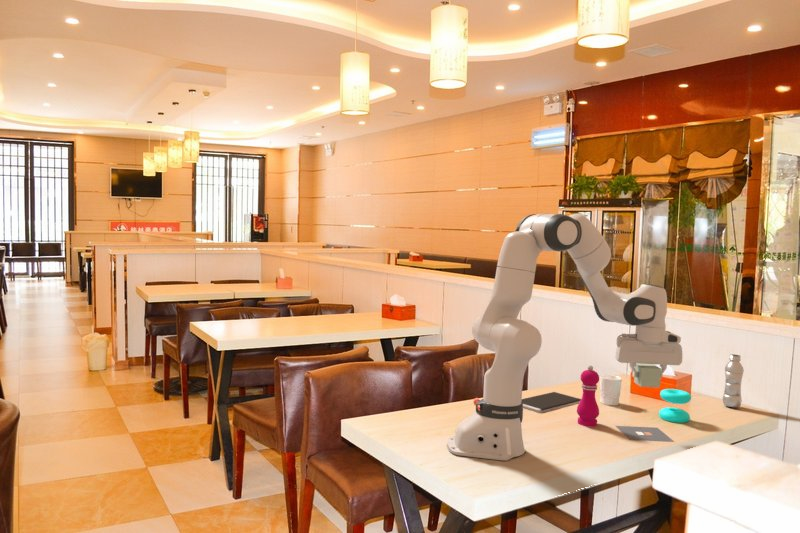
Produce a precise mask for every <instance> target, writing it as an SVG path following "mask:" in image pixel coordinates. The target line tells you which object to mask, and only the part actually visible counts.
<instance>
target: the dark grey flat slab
mask: <svg viewBox="0 0 800 533" xmlns="http://www.w3.org/2000/svg"><path fill="white" fill-rule="evenodd" d="M581 399H582V398H579V397H575V396H572V395H569V394H565V393H560V392H557V391H552V392H548V393H543V394H539V395H534V396H530V397H526V398H522V403H523V410H528V411H532V412H535V413H538V414H539V413H540V414H542V413H546V412H550V411H554V410H556V409H560V408H564V406H565V407H569V406H572V405H575V403H576V404H579V403H578V402H580V401H581ZM571 404H572V405H571ZM568 405H569V406H568Z"/></svg>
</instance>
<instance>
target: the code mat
mask: <svg viewBox="0 0 800 533" xmlns="http://www.w3.org/2000/svg"><path fill="white" fill-rule="evenodd" d="M615 427H616V429H618V430H619V431H620V432H621V433H622V434H623V435H624V436H625V437H626V438H627V439H628V440H629V441H643V442H644V441H646V442H647V441H648V442H664V443H665V442H666V443H669V442H670V443H675V441H674V440H673V439H672V438H671V437H669V436H668V435H667V434H666V433H665V432H663V431H662V430H661V429H660V428H659V427H648V426H625V425H615Z"/></svg>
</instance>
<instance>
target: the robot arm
mask: <svg viewBox="0 0 800 533" xmlns="http://www.w3.org/2000/svg"><path fill="white" fill-rule="evenodd" d="M542 251H543V252H565V251H566V252H567V253H568V254H569V256H570V258H571V259H572V260H573V262H574V264H575V265H576V270H577V273H578V275H579V277H580V279H581V281H582V283H583V285H584V286H585V289H586V290H587V292H588V293H589V296H590V298H591V299H592V304H593V307H594V312H595V314H596V315H597V317H598V318H599V319H600V320H601V321H604V322H611V323H616V324H621V325H627V326H633V327H634V326H635V331H634V332H635V333H621V334H619V335H618V336H617V338H616V346H617V347H616V351H615V359H616V360H617V361H618V363H622V364H629V367H630V369H631V371H632V377H633V378H634V377H639V372H638V371H636V370H635V367H636V364H650V365H659V368H661V377H660V379H662V378H663V374H664V373H665V371H666V370H667V369H668V368H667V367H668V366H680V365H681V364H683V346H682V345H681V340H682V338H681V336H680V335H678V334H675V333H673V332H671V331H668V330H666V327H667V326H666V316H667V312H668V297H667V296H668V294H667V291H666V289H665V288H664V287H663V286H660V285H656V284H651V283H642V284H641V285H640V286H639V287H638V289H636V290H634V291H632V292H629V293H623V292H618V291H615V290H613V289H611V288H610V287H609V285H608V284H607V282H606V280H605V278H604V276H603V275H602V272H601V271H603V270H604V269H605V268H606V267H607V266H608V264H609V263H610V261H611V257H612V252H611V248H610V246H609V244H608V243H607V241H606V239H605V238H604V236H603V235H602V233H601V232H600V231H599V229H598V228H597V227H596V226H595V225H594V223H592V221H591V220H590V219H589V218H588V217H587V216H586V215H584V214H583V213H572V214H569V215H567V214H563V213H559V214H558V213H557V214H556V213H549V212H545V213H536V214H535V213H533V214H529V215H527V216H525V217H523V218H522V219H521V220H520V221H519V223H518V224H517V226H516V228H515V230H514V231H513V232H510V233H508V234H507V235H506V236H505V237H504V239H503V243H502V245H501V248H500V252H499V255H498V258H497V264H496V270H495V277H494V280H493V281H494V282H493V287H492V290H491V291H492V292H491V295H490V297H489V300H488V303H487V305H486V307H485V309H484V310H483V312H482V313H481V314H480V315H479V316H478V317H477V318H476V319H475V320H474V322H473V324H472V329H471V332H472V337H473V339H474V341H475V342H477V343H478V344H479V345H480V346H481V347H482V348H484V349H485V350H489V351H492V352H494V359H493V363H492V364H491V367H490V368H489V369H487V370H486V371H485V373H484V378H483V396H482V397H483V398H482V399H479V397H475V398H474V399H473V401H472V402H473V405H474V406H475V411H474V413H471V414H470V415H469V416H467V417H465V419H464V418H463V420H461V421H460V422H459V423H458V425H457V426H456V431H455V434H454V435H451V436H450V437H449V438H448V439H447V444H446V447H447V450H448V451H449V452H450V453H451V454H453V455H456V456H461V457H469V458H478V459H480V458H481V459H485V460H486V459H489V460H495V461H509V460H510V459H512V458H516V457H519V456H522V455H524V453H525V452H526V449H525V445H524V439H523V431H522V422H523V418H524V408H523V403H522V399H523V385H524V377H525V376H524V375H525V373H526V370H527V367H528V365H529V363H530V361H531V359H533V358H534V357H535V356H536V355H538V354H539V351H540V350H541V347H542V343H543V342H542V341H543V340H542V339H543V338H542V334H541V332H540V330H539V329H538V328H537V327H536V326H534V325H533V324H531V323H530V322H528V321H526V320H523V319H518V316H519V314H520V312H521V310H522V308H523V307H524V305H526V304H528V303H529V301H530V300H531V298H532V295H533V289H534V282H535V275H536V270H537V263H538V262H537V260H538V257H539V255H540V254H541V253H542Z"/></svg>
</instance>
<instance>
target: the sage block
mask: <svg viewBox="0 0 800 533" xmlns="http://www.w3.org/2000/svg"><path fill="white" fill-rule="evenodd" d="M635 370H636V371H638V372H639V377H633V383H635V384H636V385H638V386H639V387H640V388H659V389H660V387H661V378H660V377H661V367H660V366H657V365H656V364H638V363H636V367H635Z"/></svg>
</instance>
